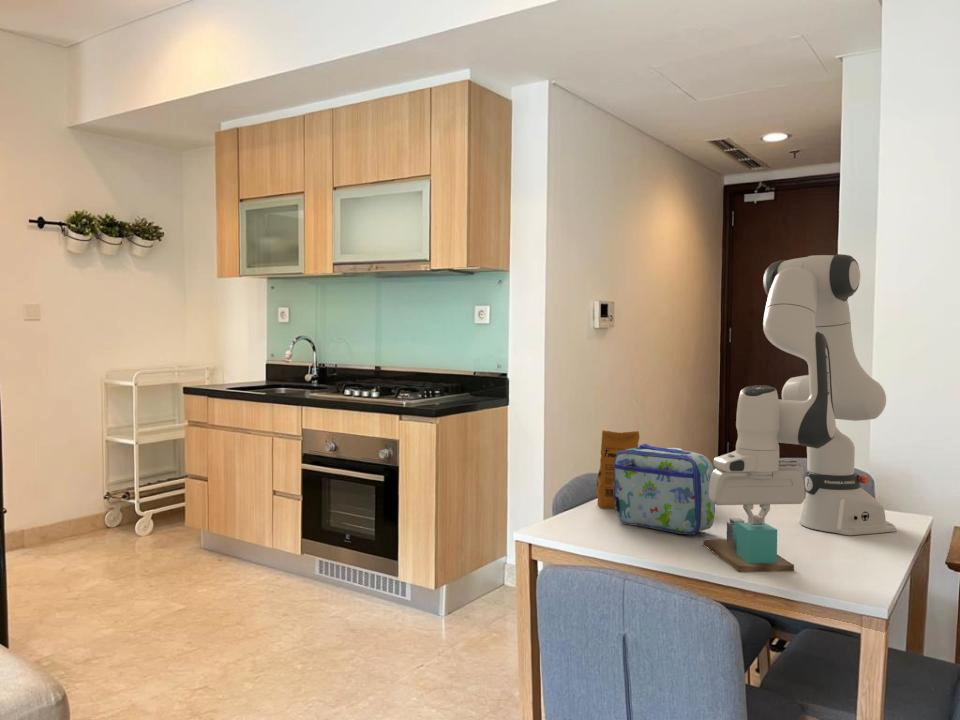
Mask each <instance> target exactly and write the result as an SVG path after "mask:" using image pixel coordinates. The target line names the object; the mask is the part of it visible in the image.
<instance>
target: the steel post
mask: <svg viewBox="0 0 960 720" xmlns="http://www.w3.org/2000/svg"><path fill="white" fill-rule="evenodd" d="M737 523H745V520H743V519H742V518H739V517H737V518H735V517H733V518H729V521H726V539H727V544H728V545H730V546H731V547H732V548H737Z"/></svg>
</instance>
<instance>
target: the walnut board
mask: <svg viewBox="0 0 960 720" xmlns="http://www.w3.org/2000/svg"><path fill="white" fill-rule="evenodd" d="M702 541H703V543H702V545H703V544H704V545H705V546H706V548H707V547H708V548H709V549H710V550H709V549H708V548H707V549H708V550H709V551H710V552H712V551H713V552H714V553H713V552H712V553H713V554H715V555H716V556H717V555H718V556H719V558H720V559H721V560H722V561H724V563H726V564H728V565H729V566H730V567H731V568H732V569H734V570H735V571H737V572H738V573H750V572H751V573H754V572H755V573H756V572H757V573H759V572H789V571H790V572H793V571H795V564H793V563H791V562H790V561H788V560H786V559H785V558H783V557H782V556H781V555H779V554H777V563H747V562H746V561H745V560H743V559H742V558H740V557H739V556H738V555H736V554H737V548H732V547H731V546H730V545H728V544H727V538H724V539H723V538H720V539H703V540H702ZM704 545H703V546H704ZM705 546H704V547H705ZM718 556H717V557H718Z"/></svg>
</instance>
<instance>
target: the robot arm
mask: <svg viewBox="0 0 960 720" xmlns="http://www.w3.org/2000/svg"><path fill="white" fill-rule="evenodd" d="M859 265H860V264H859V263H858V261H857V259H855V258H854V257H853V256H852V255H849V254H840V253H839V254H838V253H837V254H835V255H829V254H821V255H819V254H817V255H808V256H805V257H798V258H792V259H788V260H785V259H781V260H778V261H774V262H772V263H770V265H769V266H768V267H767V268H766V269H765V271H764V274H763V280H762V281H763V289H764V292H765V294H766V295H767V300H766V303H765V308H764V314H763V321H762V326H763V333H764V335H765V338H766V339H767V340H768V341H769V342H770V343H771V345H773V346H775V347H776V348H777V349H780V351H782V352H785V353H787V354H790V355H793V356H796V357H798V358H800V359H803V361H805V362H806V364H807V365H808V366H807V367H808V374H806V375H799V376H795V377H794V376H793V377H790V378H789V379H788V380H786V382H785V383H784V385H783V387H782V390H781V399H780V398H779V394H778V391H777V389H776V388H775V387H773V386H770V385H763V384H760V385H759V384H756V385H749V386H746V387H744V388H742V389H741V390H740V392H739V394H738V395H739V396H738V399H737V407H736V418H735V419H736V421H735V427H736V430H737V440H736V443H735V450H734V451H731V452H728V453H725V454H721V455H720V456H716V457H714V458H713V463H712V465H713V467H715V469H714V471H713V472H712V474H711V477H710V483H709V499H710V500H711V501H712V502H713V503H714V504H715V506H739V505H740V506H742V508H743V510H744V512H745V513H746V515H747V523H749V524H750V525H764V523H766V522H765V518H766V517H767V515H768V513H769V511H770V510H771V505H801V504H803V503H804V504H803V509H802V512H801V517H800V520H799V524H800V525H801V526H803V527H806V528H808V529H812V530H817V531H821V532H826V533H827V532H828V533H833V534H836V533H837V534H839V535H840V534H841V535H844V536H858V535H867V534H868V535H870V534H871V535H872V534H880V533H881V534H882V533H891V532H893V533H894V532H896V531H897V530H896V526H895V524H893V523H891V522H889V521H887V520H886V512H885V509H884V506H883V504H882V503H881V502H880V501H879V500H877V499H876V498H874V497H873V496H872V495H871V494H869V493H868V492H867V491H866V490H864V489H863V488H862V487H861V484H863V485H868V484H869V483H870V481H871V480H870V478H869V476H866V475H862V474H860V475H859V474H857V473H856V472H855V453H856V452H855V449H856V448H855V444H854V442H853V441H852V439H851V438H850V437H848V436H847V435H846V434H844V433H842V432H841V431H840V430H839V429H838V427H837V423H836V420H843V421H853V422H857V421H869V420H875V419H878V417H879V416H880V415H881V414H883V412H884V410H885V408H886V405H887V395H886V392H885V389H884V388H883V386H882V385H881V384H880V382H878V381H876V380H875V379H874V378H873V377H871V376H870V374H868V373H867V371H866V370H864V368H863V366H862V365H861V364H860V362H859V360H858V358H857V356H856V352H855V349H854V348H855V347H854V342H853V333H852V332H853V331H852V322H851V321H852V320H851V312H850V305H849V300H848V299H849V298H851V297H852V296H853V295H854V294H855V293H856V292H857V290H859V289H858V288H859V286H860V282H861V270H860V266H859ZM779 443H780V444H787V445H788V444H792V445H800V446H802V447H806V455H807V457H806V459H807V460H806V461H807V462H806V463H807V467H806V468H807V469H805V468H804V466H803V465H802V464H801V463H800V462H798V461H797V460H780V445H779ZM803 478H804V479H803ZM754 505H755V506H759V508H761V509H760V510H759V513H758V514H753V511H752V510H754Z"/></svg>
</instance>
